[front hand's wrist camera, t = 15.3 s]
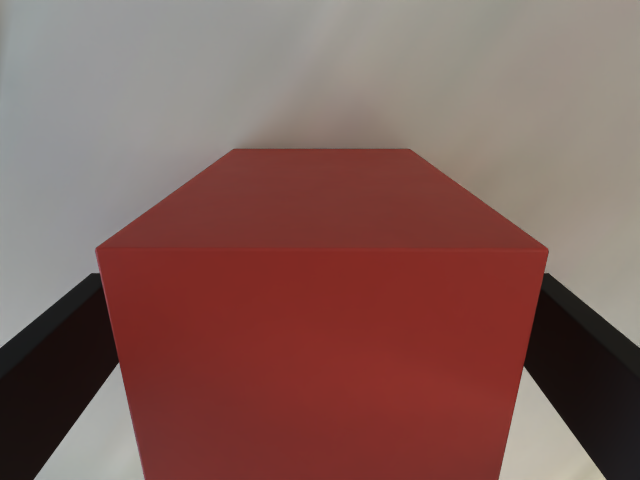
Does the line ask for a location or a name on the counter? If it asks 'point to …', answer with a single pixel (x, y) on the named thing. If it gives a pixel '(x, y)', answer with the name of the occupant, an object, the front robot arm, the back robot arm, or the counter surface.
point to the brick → (321, 320)
